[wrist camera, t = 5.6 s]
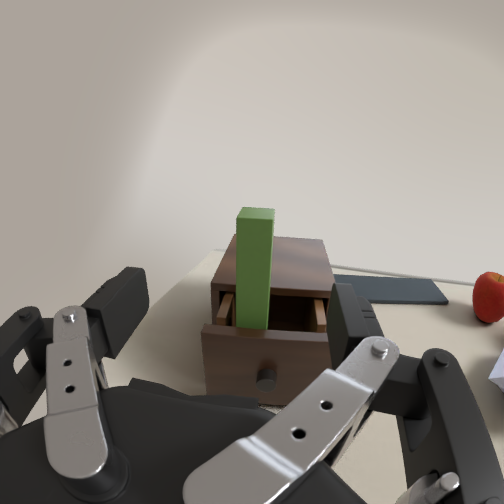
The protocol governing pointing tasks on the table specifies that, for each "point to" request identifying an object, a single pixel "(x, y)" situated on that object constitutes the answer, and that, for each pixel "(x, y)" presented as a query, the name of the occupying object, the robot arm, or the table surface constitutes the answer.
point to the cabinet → (282, 272)
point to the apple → (489, 297)
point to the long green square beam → (253, 266)
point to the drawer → (266, 350)
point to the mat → (394, 289)
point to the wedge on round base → (498, 372)
